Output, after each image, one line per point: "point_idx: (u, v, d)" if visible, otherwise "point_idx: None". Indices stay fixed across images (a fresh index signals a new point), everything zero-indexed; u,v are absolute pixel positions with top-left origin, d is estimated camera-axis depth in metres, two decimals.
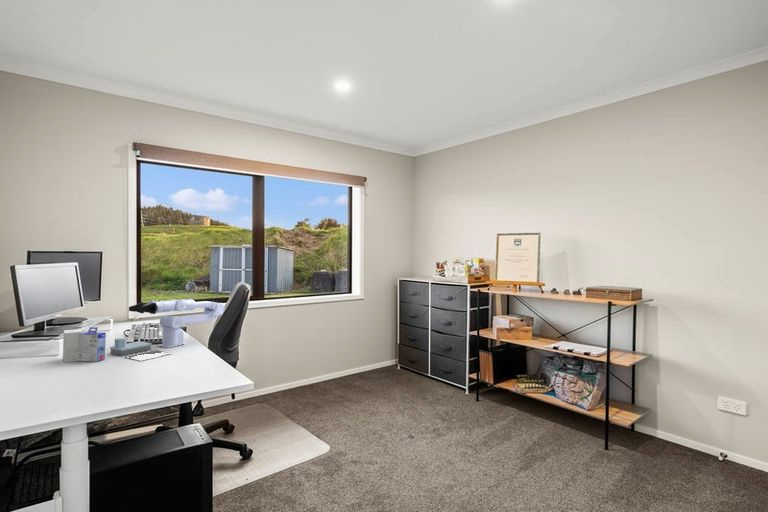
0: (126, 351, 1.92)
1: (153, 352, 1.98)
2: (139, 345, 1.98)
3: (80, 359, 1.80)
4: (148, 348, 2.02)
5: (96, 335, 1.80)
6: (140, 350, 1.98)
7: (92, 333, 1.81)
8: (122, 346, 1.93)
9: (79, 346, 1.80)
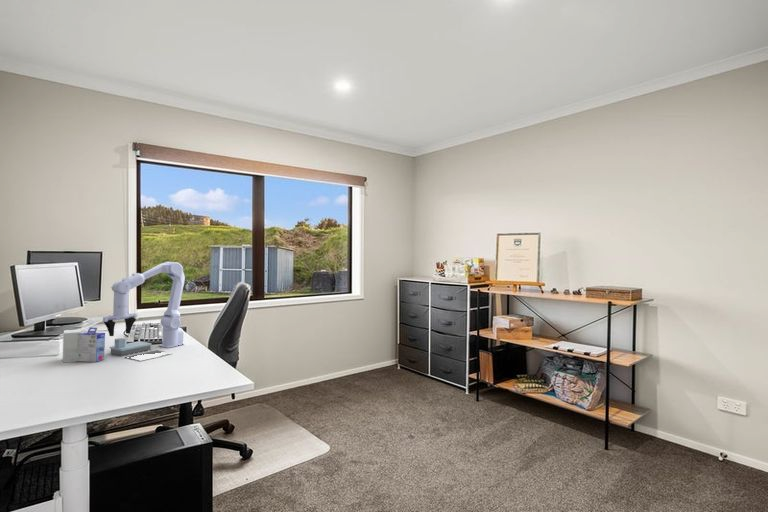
0: (126, 351, 1.92)
1: (153, 352, 1.98)
2: (139, 345, 1.98)
3: (79, 359, 1.79)
4: (148, 348, 2.02)
5: (95, 335, 1.79)
6: (140, 350, 1.98)
7: (91, 333, 1.81)
8: (122, 346, 1.93)
9: (78, 346, 1.80)
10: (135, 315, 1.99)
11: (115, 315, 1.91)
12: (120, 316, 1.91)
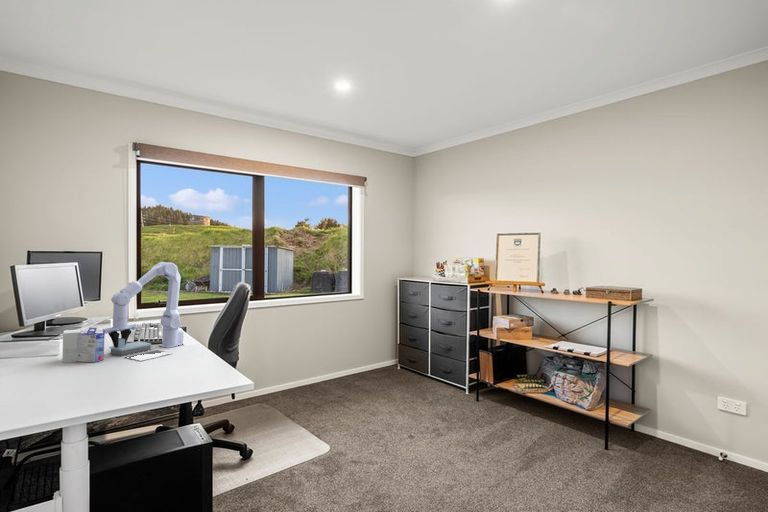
0: (126, 351, 1.92)
1: (153, 352, 1.98)
2: (139, 345, 1.98)
3: (79, 359, 1.79)
4: (148, 348, 2.02)
5: (94, 335, 1.79)
6: (140, 350, 1.98)
7: (91, 333, 1.80)
8: (122, 346, 1.93)
9: (78, 346, 1.79)
10: (135, 326, 1.99)
11: (115, 327, 1.91)
12: (120, 328, 1.91)
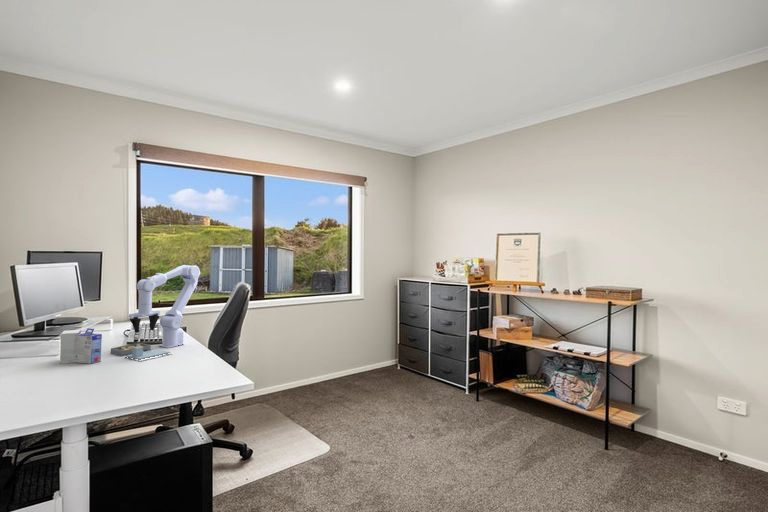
0: (126, 351, 1.92)
1: None
2: (157, 354, 1.92)
3: (76, 360, 1.78)
4: (148, 348, 2.02)
5: (90, 337, 1.77)
6: None
7: (88, 334, 1.78)
8: (140, 355, 1.87)
9: (75, 347, 1.78)
10: (158, 312, 2.06)
11: (140, 312, 1.97)
12: (145, 313, 1.98)
